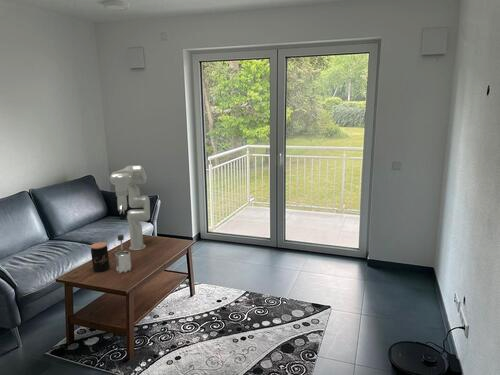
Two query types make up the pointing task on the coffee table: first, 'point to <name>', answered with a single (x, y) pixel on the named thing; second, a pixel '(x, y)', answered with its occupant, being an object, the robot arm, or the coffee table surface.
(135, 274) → the coffee table surface
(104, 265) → the coffee jar
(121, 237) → the plunger
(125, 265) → the press carafe
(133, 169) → the robot arm
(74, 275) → the coffee table surface
